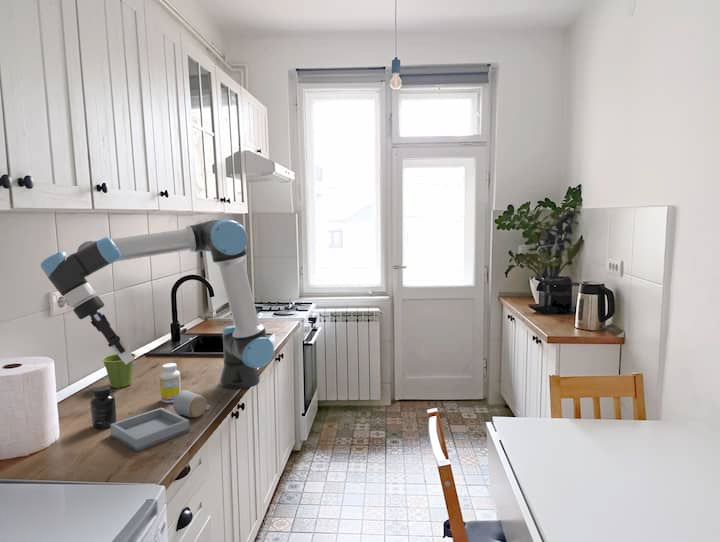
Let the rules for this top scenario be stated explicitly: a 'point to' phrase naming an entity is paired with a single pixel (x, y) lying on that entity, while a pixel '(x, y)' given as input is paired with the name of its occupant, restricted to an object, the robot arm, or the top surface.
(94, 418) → the supplement bottle
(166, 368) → the supplement bottle
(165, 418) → the tray
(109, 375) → the plant pot
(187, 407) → the ceramic mug
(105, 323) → the robot arm
